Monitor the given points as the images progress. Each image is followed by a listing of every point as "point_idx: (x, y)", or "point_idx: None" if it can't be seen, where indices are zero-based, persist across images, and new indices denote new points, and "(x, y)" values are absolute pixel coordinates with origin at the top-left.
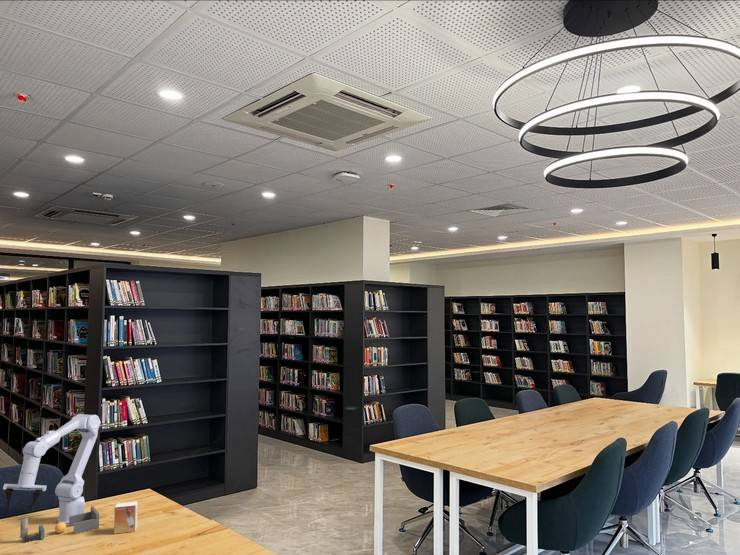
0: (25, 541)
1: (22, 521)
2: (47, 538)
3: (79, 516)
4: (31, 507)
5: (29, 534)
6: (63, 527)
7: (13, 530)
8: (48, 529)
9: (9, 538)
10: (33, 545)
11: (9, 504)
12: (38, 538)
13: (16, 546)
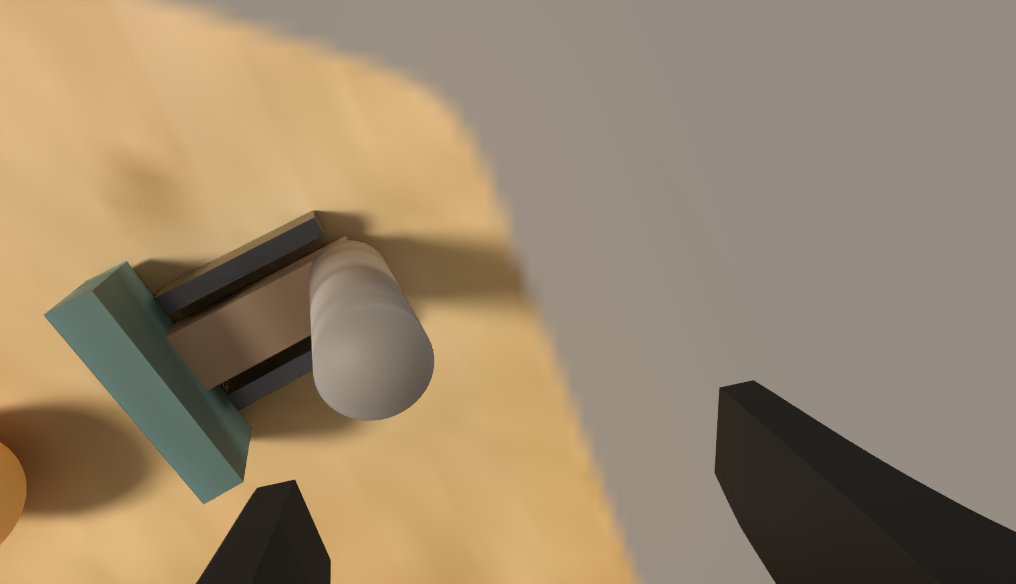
0: (303, 216)
1: (376, 297)
2: None
3: None
4: (240, 533)
5: None
6: None
7: (567, 547)
8: None
9: (532, 370)
10: (143, 96)
11: (803, 455)
12: (172, 285)
13: (364, 123)
